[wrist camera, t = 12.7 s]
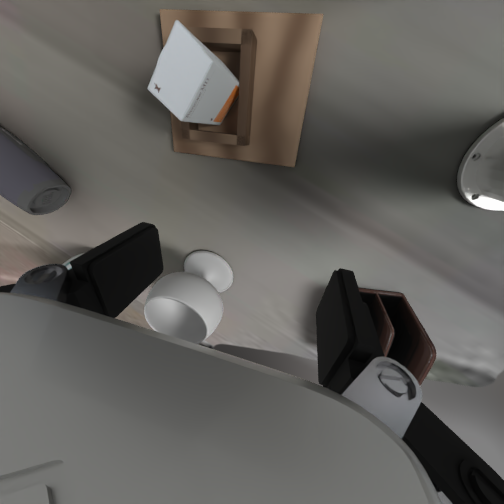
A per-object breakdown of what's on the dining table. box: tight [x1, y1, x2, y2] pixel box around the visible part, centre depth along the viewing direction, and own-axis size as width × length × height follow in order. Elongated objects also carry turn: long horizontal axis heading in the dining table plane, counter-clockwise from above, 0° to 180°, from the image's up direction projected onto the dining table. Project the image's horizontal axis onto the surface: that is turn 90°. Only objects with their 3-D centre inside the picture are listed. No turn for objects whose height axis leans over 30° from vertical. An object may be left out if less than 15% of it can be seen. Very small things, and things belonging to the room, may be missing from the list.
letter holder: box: [358, 288, 436, 385], centre depth 39 cm, size 10×20×14 cm, turn 1°
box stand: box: [160, 9, 323, 167], centre depth 27 cm, size 20×16×4 cm
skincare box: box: [148, 20, 239, 125], centre depth 23 cm, size 6×4×12 cm
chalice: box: [144, 250, 233, 344], centre depth 41 cm, size 14×14×15 cm
